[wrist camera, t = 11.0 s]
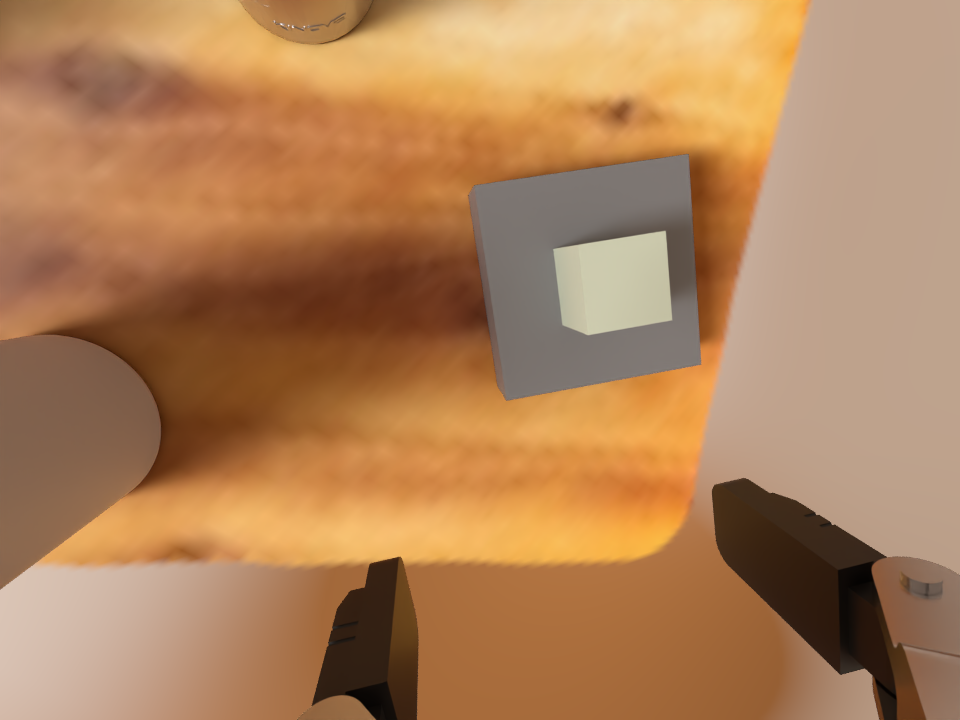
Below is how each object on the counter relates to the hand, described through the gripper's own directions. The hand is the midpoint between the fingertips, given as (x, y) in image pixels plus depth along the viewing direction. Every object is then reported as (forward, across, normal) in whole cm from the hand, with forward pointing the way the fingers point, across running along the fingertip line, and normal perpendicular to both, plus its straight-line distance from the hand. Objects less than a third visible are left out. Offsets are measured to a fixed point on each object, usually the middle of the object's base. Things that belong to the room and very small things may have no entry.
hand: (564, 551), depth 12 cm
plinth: (+24, -9, -5) cm, 26 cm away
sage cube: (+20, -9, -5) cm, 22 cm away
